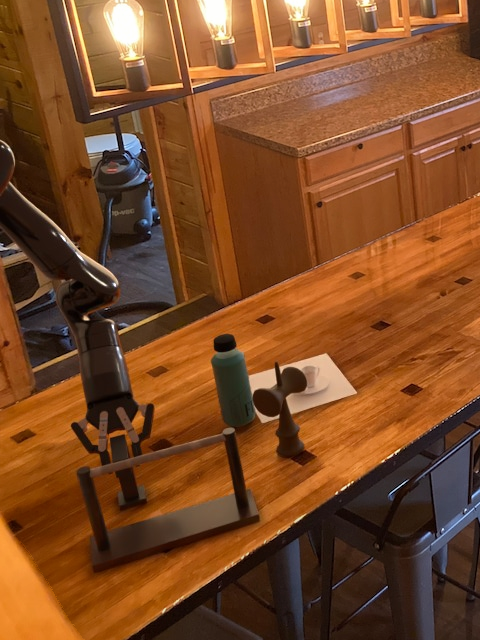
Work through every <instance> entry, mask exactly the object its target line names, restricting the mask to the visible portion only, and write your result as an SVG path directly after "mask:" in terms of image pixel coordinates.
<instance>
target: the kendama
mask: <svg viewBox="0 0 480 640" xmlns="http://www.w3.org/2000/svg"><path fill="white" fill-rule="evenodd" d="M279 367H280V363H279V362H278V361H275V362H274V368H275V373H276V381H277V384H276V385H274V386H273V387H271V388H259V389H257V390H255V391H254V393H253V403H254V406H255V407H256V409H257V410H258V411H259V412H260V413H261V414H263V415H265V416H267V417H275V416H278V415H279V418H278V427H277V429H276V430H275V433H274V434H275V436H276V437H277V438H278V445H277V447H276V449H275V452H276V454H277V455H279V456H281V457H285V458H289V457H294V456H296V455H298V454H300V453H301V452H302V451H303V450H304V448H305V442H304V441H302V439H300V437H299V432H300V430H301V426H299V424H297V423H295V420H294V419H293V415H292V414H291V413H290V410H289V407H288V404H287V400H286V397H287V396H288V395H290V394H291V393H300V392H303V391H305V389H306V387H307V379H306V376H305V375H304V373H303V372H302V371H301V370H299V369H298V368H295V367H287V368H284V369H283V371H282V373H280V368H279Z"/></svg>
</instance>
